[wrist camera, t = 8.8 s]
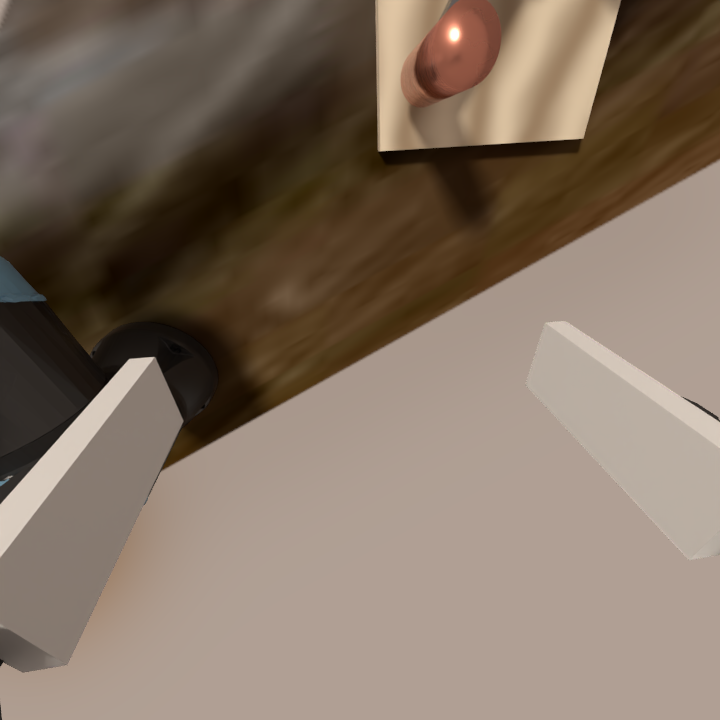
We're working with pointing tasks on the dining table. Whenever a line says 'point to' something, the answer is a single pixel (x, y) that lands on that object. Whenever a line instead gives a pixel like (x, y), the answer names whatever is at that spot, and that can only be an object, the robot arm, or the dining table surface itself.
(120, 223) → the dining table surface
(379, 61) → the tapered cream board
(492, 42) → the lever
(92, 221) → the dining table surface
